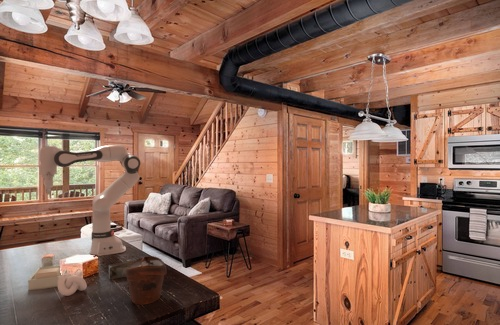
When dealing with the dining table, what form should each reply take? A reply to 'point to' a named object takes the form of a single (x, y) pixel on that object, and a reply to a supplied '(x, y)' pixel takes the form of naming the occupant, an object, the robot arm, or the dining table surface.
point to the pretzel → (71, 283)
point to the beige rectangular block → (48, 273)
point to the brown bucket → (145, 279)
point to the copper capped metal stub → (48, 260)
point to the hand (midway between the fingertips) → (48, 193)
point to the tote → (44, 280)
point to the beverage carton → (118, 269)
